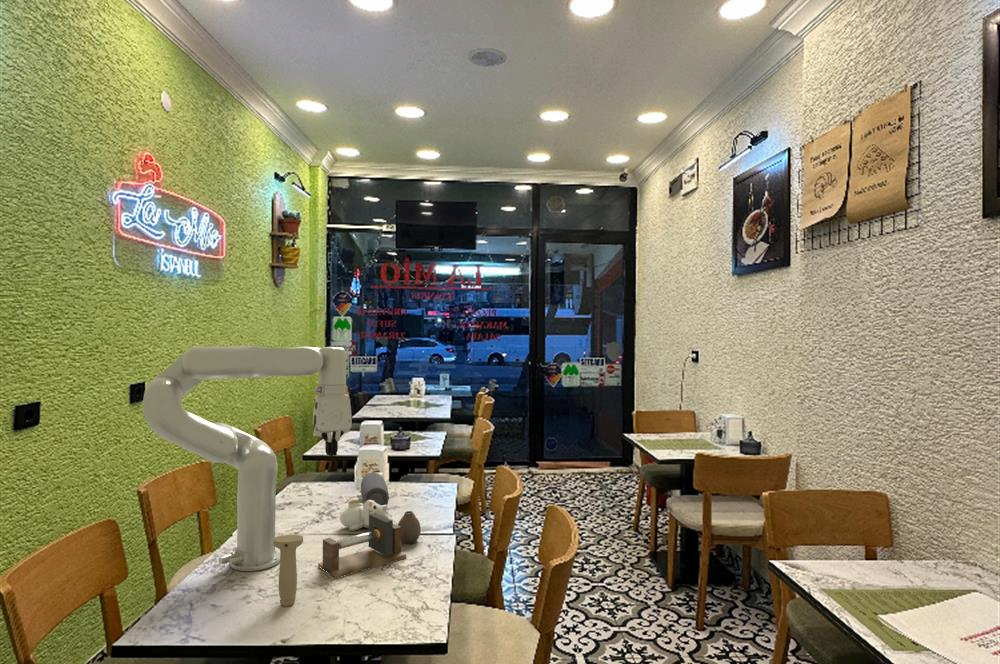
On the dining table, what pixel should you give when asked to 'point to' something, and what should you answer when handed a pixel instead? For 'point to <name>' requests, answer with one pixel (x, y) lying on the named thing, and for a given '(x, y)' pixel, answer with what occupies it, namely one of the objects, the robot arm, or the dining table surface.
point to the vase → (409, 528)
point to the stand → (358, 556)
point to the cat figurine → (361, 513)
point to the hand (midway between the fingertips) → (331, 455)
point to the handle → (287, 567)
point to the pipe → (359, 539)
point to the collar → (386, 533)
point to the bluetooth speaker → (374, 489)
